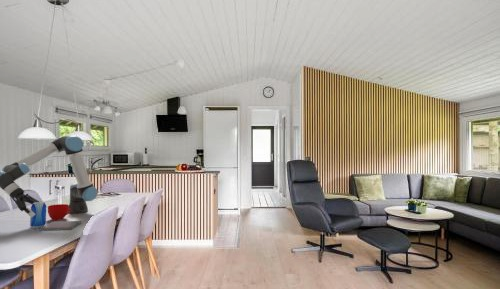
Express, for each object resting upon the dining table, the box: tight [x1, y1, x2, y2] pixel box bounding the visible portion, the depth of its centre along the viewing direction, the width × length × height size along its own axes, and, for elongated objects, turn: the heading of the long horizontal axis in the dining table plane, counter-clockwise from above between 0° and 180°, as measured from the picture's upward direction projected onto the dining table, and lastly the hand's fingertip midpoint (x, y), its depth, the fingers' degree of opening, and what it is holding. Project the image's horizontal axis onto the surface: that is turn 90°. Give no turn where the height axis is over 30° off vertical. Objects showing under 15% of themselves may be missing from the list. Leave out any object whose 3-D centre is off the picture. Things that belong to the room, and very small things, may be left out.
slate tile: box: [40, 220, 83, 231], centre depth 198 cm, size 18×18×2 cm
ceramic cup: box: [47, 203, 71, 221], centre depth 218 cm, size 13×17×10 cm
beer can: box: [29, 201, 47, 229], centre depth 196 cm, size 8×8×16 cm
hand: (39, 213), depth 196 cm, fingers open, 13 cm apart
